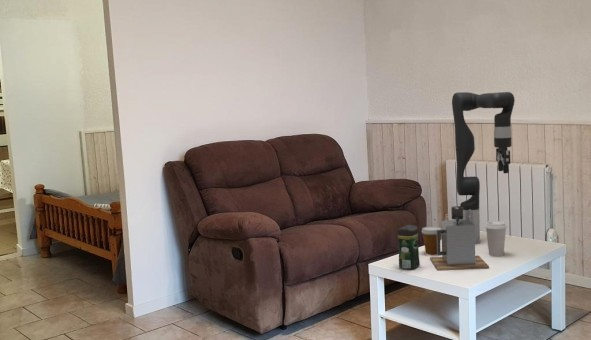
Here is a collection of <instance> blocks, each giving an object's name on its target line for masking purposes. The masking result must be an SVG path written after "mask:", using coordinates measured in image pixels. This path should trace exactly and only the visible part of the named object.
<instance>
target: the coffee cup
mask: <svg viewBox="0 0 591 340" xmlns="http://www.w3.org/2000/svg"><path fill="white" fill-rule="evenodd" d="M484 228H485V230H486V231H485V232H486V239H487V241H486V242H487V247H488V248H487V249H488V255H489V256H490V257H503V256H504V255H505V241H506V229H507V228H508V227H507V224H506V223H505V222H504V221H499V220H489V221H487V222H486V223H485V226H484Z"/></svg>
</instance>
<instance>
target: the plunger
mask: <svg viewBox="0 0 591 340" xmlns="http://www.w3.org/2000/svg"><path fill="white" fill-rule="evenodd" d="M450 211H451V220H456V223H459V220H461V219H463V207H461V206H460V205H459V206H457V205H454V206H451V210H450Z"/></svg>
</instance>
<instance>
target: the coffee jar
mask: <svg viewBox="0 0 591 340" xmlns="http://www.w3.org/2000/svg"><path fill="white" fill-rule="evenodd" d="M397 239H398V267H399V269H402V270H414V269H416V268H418V267H419V266H420V262H421V261H420V252H419V227H418V226H417V225H416V224H415V225H414V224H406V225H404V226H402V227H400V228H397Z"/></svg>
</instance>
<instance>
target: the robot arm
mask: <svg viewBox="0 0 591 340" xmlns="http://www.w3.org/2000/svg"><path fill="white" fill-rule="evenodd" d="M515 102H516V101H515V95H514V94H513V93H512V92H510V91H503V92H500V91H499V92H488V93H481V94H477V93H473V92H468V91H467V92H465V91H464V92H459V91H458V92H454V94H453V95H452V99H451V107H452V115H453V116H452V117H453V123H454V143H455V145H454V146H455V159H456V192H457V195H459V196H471V197H469V199H466V200H465V201H464V200H463V201H462V202H460V204H459V206H461V207H463V219H460V220H466V219H469V220H470V221H471V222H472V223H473V224H475V245H478V244H480V243H481V225H480V222H481V220H480V214H481V213H480V190H481V187H480V185H481V183H480V179H479V177H478V176H464V175H465V170H466V168H467V166H468V163H469V161H470V160H471V158H472V156H473V155H474V153H475V150H476V147H475V144H476V143H475V136H474V133H473V131H472V130H471V129H470V127H469V125H468V124H467V122H466V120H465V117H464V112H468V111H469V112H471V111H473V110H476V109H501V112H499V113H495V115H494V117H493V118H494V119H493V120H494V123H493V124H494V126H493V127H494V130H493V145H494V148H496V149H495V160H496V163H497V171H498V172H503V174H509V171H510V169H509V168H510V167H509V165H510V164H511V151H510V150H508V148H511V147H512V146H513V145H512V139H513V138H512V128H511V127H512V125H511V124H512V123H511V120H512V119H511V118H512V113H513V109H514V106H515Z"/></svg>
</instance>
